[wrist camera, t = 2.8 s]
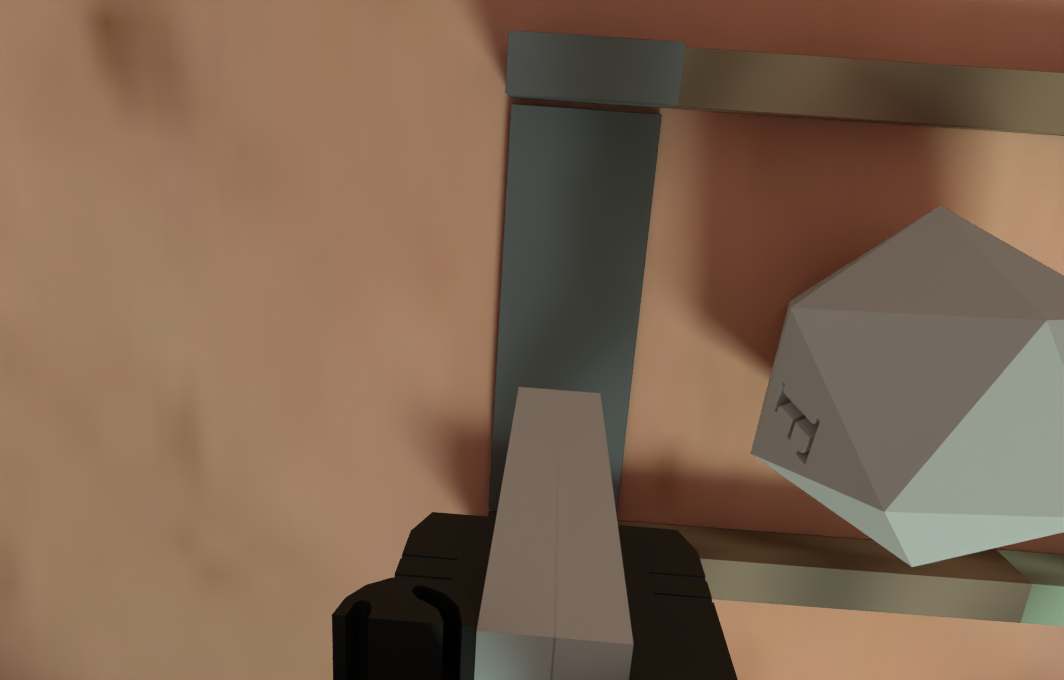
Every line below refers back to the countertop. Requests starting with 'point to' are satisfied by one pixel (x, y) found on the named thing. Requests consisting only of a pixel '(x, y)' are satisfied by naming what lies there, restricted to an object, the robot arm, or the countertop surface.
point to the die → (926, 393)
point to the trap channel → (619, 259)
